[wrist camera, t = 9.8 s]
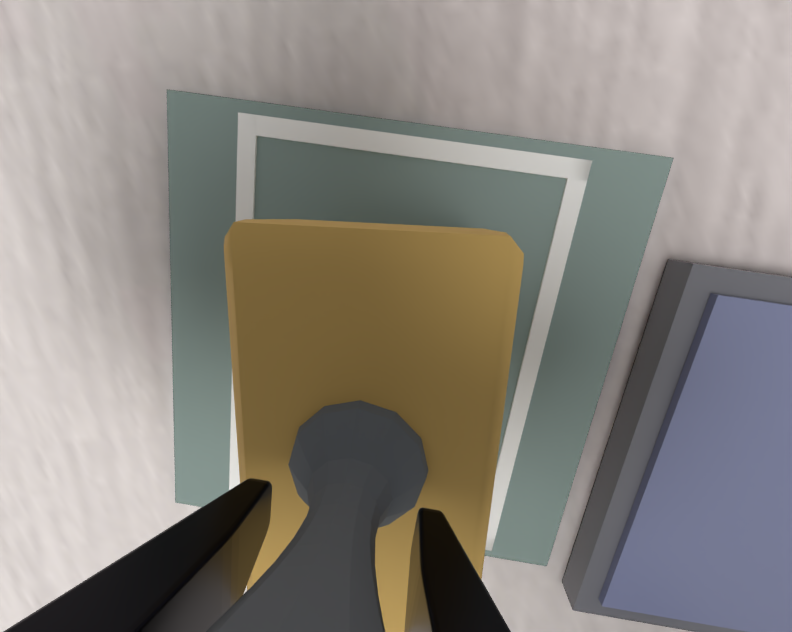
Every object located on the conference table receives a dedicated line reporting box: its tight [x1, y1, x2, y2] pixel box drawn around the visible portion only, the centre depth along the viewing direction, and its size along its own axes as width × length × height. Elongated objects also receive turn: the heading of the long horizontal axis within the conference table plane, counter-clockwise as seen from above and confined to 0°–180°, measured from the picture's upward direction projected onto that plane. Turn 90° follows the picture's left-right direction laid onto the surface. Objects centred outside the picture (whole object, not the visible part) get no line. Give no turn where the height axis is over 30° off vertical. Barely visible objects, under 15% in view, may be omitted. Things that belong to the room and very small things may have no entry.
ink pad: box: [562, 259, 792, 632], centre depth 13 cm, size 12×14×2 cm
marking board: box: [167, 90, 673, 566], centre depth 14 cm, size 16×16×1 cm
